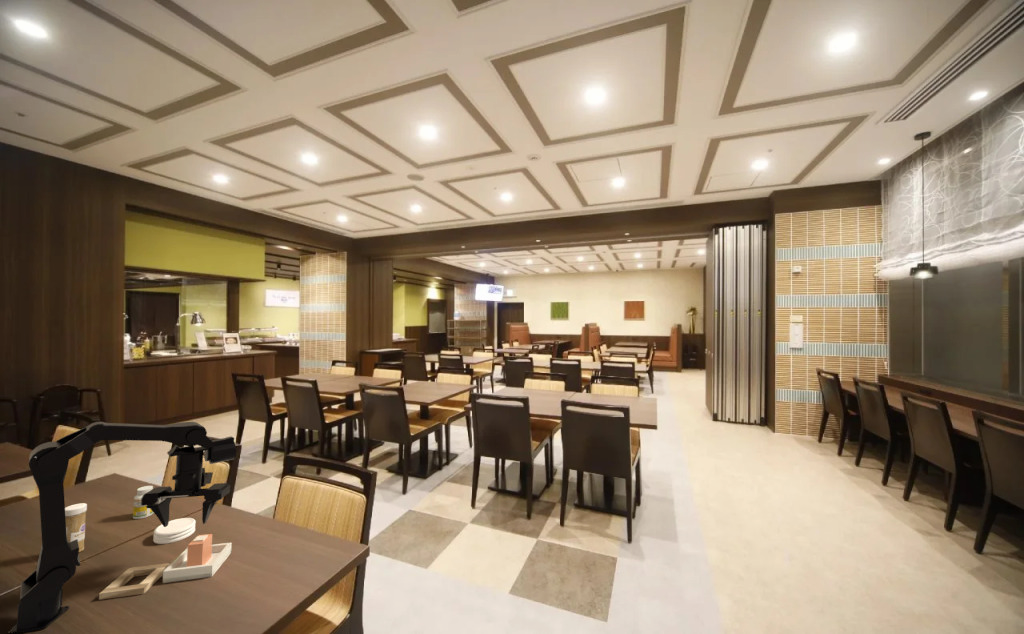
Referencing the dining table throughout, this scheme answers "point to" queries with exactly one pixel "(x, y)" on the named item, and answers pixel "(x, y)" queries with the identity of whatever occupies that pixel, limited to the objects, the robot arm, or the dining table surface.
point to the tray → (182, 572)
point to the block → (199, 550)
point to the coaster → (174, 531)
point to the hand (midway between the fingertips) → (185, 524)
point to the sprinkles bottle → (76, 523)
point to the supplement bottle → (138, 509)
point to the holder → (120, 590)
